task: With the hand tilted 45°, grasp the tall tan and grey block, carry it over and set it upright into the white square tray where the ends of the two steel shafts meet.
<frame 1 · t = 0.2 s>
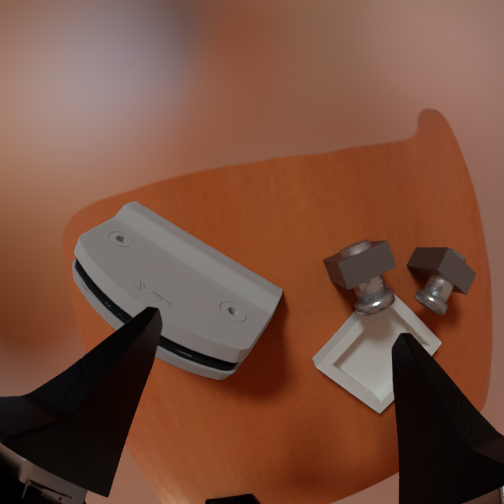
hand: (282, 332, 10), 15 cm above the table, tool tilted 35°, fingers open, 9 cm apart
white electronic device: (184, 280, 25), on the table
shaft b: (351, 271, 24), on the table
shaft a: (420, 276, 24), on the table
white square tray: (377, 348, 24), on the table
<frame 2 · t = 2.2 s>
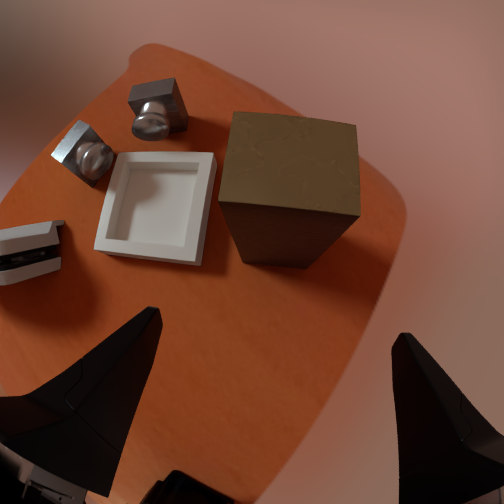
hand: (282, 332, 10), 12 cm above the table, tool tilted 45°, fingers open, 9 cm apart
white electronic device: (16, 260, 24), on the table
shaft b: (103, 171, 25), on the table
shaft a: (167, 133, 25), on the table
white square tray: (159, 208, 24), on the table
tan and grey block: (277, 241, 23), on the table
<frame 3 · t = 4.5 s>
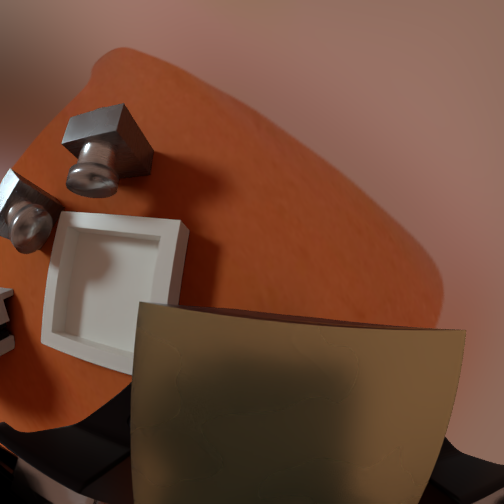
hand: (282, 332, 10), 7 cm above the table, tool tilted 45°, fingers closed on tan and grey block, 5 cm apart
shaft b: (51, 228, 18), on the table
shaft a: (125, 177, 18), on the table
white square tray: (114, 291, 17), on the table
tan and grey block: (271, 347, 16), on the table, touching gripper
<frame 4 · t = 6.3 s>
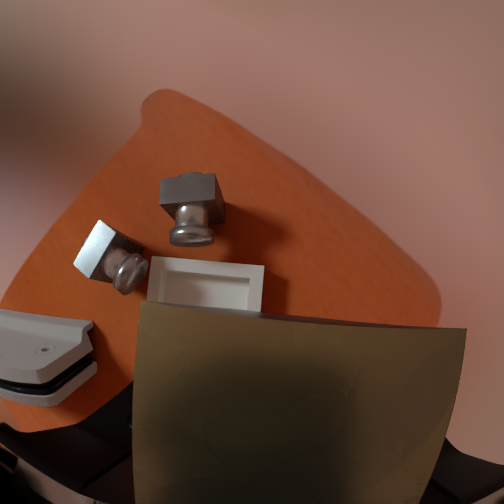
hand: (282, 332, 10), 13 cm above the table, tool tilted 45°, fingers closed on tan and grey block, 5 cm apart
white electronic device: (41, 349, 23), on the table
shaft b: (133, 267, 24), on the table
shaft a: (202, 224, 25), on the table
white square tray: (205, 318, 23), on the table
tan and grey block: (271, 347, 16), point 7 cm above the table, touching gripper
when the fingers open (8 cm above the table, at t = 8.3 s): tan and grey block stays where it is, resting on white square tray.
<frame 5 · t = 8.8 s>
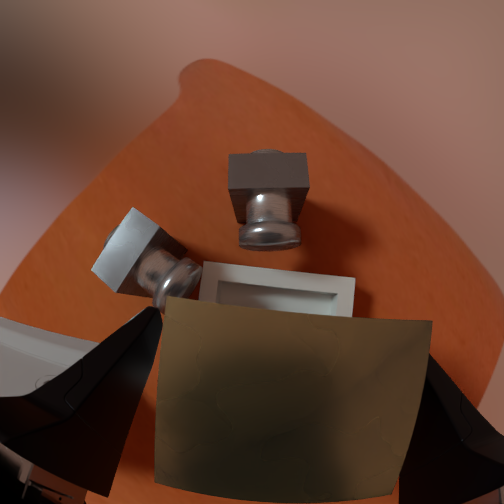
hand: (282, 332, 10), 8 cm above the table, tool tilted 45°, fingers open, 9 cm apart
white electronic device: (42, 371, 18), on the table
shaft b: (170, 274, 19), on the table
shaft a: (267, 221, 19), on the table
white square tray: (270, 343, 18), on the table
tan and grey block: (270, 344, 17), point 1 cm above the table, touching white square tray
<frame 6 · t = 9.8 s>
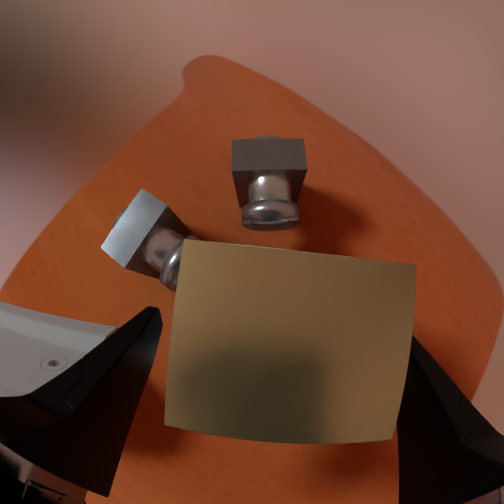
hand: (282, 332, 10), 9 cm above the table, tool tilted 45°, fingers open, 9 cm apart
white electronic device: (46, 355, 19), on the table
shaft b: (175, 256, 20), on the table
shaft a: (267, 206, 20), on the table
tan and grey block: (272, 322, 18), point 1 cm above the table, touching white square tray
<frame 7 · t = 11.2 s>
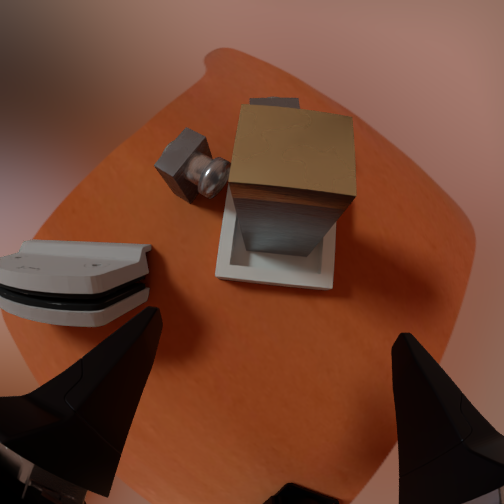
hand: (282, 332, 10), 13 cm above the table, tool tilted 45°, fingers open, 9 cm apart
white electronic device: (79, 280, 24), on the table
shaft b: (203, 186, 25), on the table
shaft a: (273, 151, 26), on the table
white square tray: (278, 232, 24), on the table
tan and grey block: (278, 230, 24), point 1 cm above the table, touching white square tray
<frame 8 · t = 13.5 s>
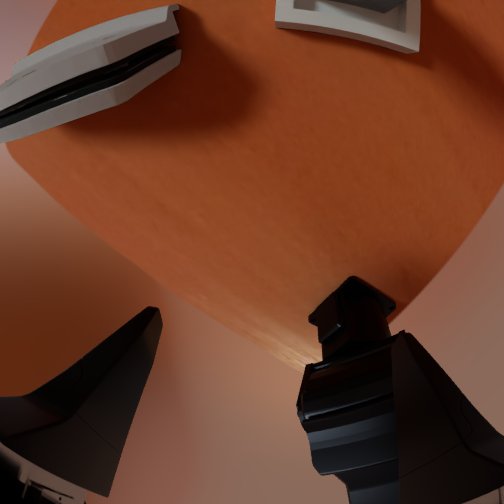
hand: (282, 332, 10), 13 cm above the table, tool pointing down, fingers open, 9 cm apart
white electronic device: (89, 69, 16), on the table
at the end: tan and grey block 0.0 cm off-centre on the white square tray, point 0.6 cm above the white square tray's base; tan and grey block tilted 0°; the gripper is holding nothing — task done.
